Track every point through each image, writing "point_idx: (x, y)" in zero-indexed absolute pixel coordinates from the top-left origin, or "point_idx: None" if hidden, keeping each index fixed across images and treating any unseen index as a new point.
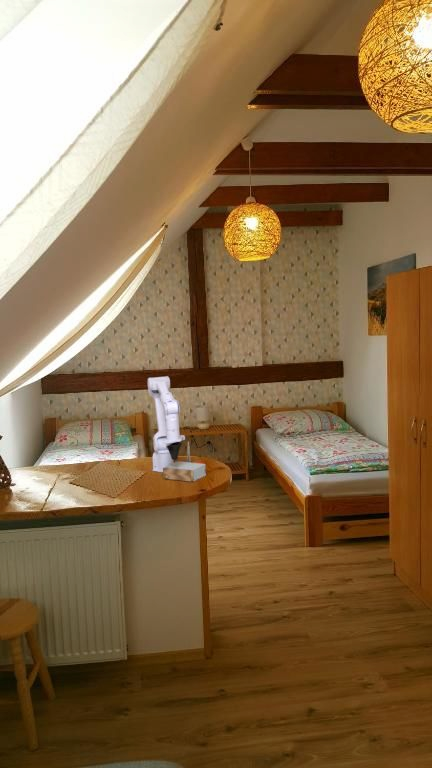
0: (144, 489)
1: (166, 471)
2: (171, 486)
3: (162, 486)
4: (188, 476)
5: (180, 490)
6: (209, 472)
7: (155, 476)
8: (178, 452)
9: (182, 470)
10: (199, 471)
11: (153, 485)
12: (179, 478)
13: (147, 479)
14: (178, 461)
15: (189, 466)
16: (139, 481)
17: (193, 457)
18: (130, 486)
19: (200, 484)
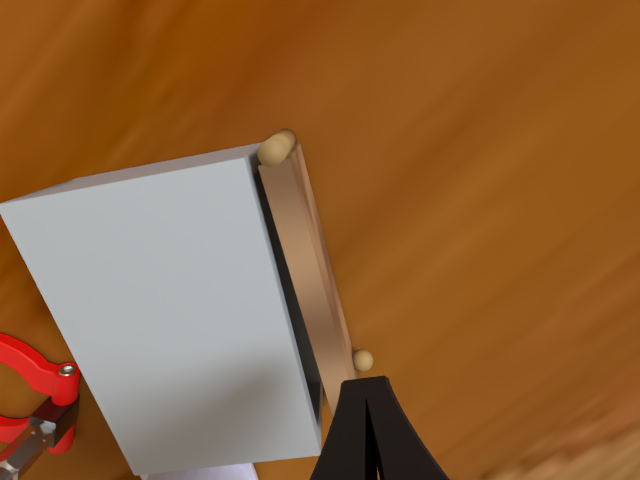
0: (616, 326)
1: None
2: (472, 207)
3: (503, 267)
4: (302, 176)
5: (537, 49)
6: None
7: None
8: (327, 461)
9: (315, 258)
10: (143, 171)
11: (509, 336)
12: (327, 259)
13: None
14: (137, 467)
15: (174, 290)
16: (475, 458)
17: None
18: (588, 437)
19: (299, 9)
